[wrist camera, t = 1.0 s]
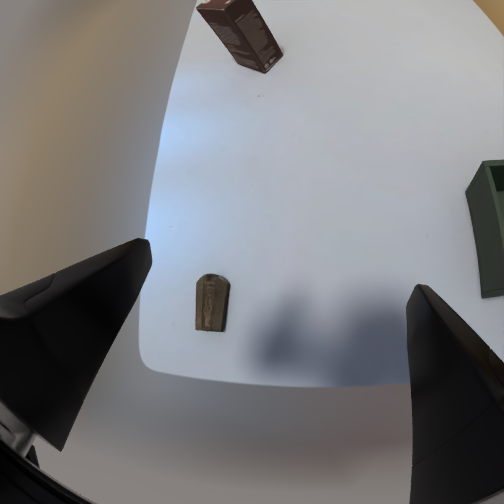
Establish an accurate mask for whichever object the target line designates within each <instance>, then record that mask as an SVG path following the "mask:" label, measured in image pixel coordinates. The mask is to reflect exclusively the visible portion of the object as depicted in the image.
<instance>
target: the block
mask: <svg viewBox="0 0 504 504" xmlns="http://www.w3.org/2000/svg"><path fill="white" fill-rule="evenodd" d="M229 287H230V284H229V282H228V281H227V280H226V279H225V278H223V277H221V276H218V275H215V274H206V275H203V276H202V277H201V278H200V279H199V280H198V281H197V283H196V319H195V330H202V331H215V332H223V329H224V322H225V316H226V309H227V302H228V296H229Z"/></svg>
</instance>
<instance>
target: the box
mask: <svg viewBox="0 0 504 504" xmlns="http://www.w3.org/2000/svg"><path fill="white" fill-rule="evenodd" d="M196 9H197V11H198V12H199V13H200V14H201V16H202V17H203V18H204V19H205V21H206V22H207V23H208V24H209V26H210V27H211V28H212V29H213V31H214V32H215V33H216V35H217V36H218V37H219V39H220V40H221V41H222V43H223V44H224V45H225V47H226V48H227V49H228V51H229V52H230V53H231V55H232V56H233V57H234V59H235V60H236V62H237V63H238V64H241V65H244V66H247V67H250V68H253V69H255V70H258V71H261V72H264V73H265V72H266V71H268V70H269V69H270V68H271V67H272V66H273V65H274V64H275V63H276V62H277V61H278V60H279V59H280V57H281V56H282V55H283V53H282V52H281V50H280V48H279V46H278V44H277V42H276V40H275V39H274V37H273V35H272V33H271V31H270V30H269V28H268V26H267V25H266V23H265V21H264V20H263V18H262V16H261V14H260V13H259V11H258V10H257V8H256V6H255V5H254V3H253V1H252V0H205V1H204V2H202V3H201V4H200V5H199V6H197V7H196Z"/></svg>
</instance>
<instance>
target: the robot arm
mask: <svg viewBox="0 0 504 504" xmlns="http://www.w3.org/2000/svg"><path fill="white" fill-rule="evenodd" d="M151 266H152V255H151V248H150V243H149V241H148V240H147V239H141V238H137V239H134V240H132V241H129V242H126V243H124V244H122V245H119V246H117V247H114V248H112V249H110V250H107V251H105V252H102V253H100V254H97V255H95V256H93V257H90V258H88V259H86V260H83V261H81V262H79V263H76V264H74V265H72V266H69V267H67V268H65V269H63V270H60V271H58V272H56V274H55V273H53V274H51V275H49V276H47V277H45V278H42V279H40V280H38V281H35V282H33V283H31V284H28V285H26V286H23V287H21V288H18V289H16V290H13V291H11V292H8V293H6V294H4V295H1V296H0V504H96V503H94V502H93V501H90V500H89V499H87V498H85V497H83V496H82V495H80V494H78V493H76V492H75V491H73V490H72V489H70V488H68V487H67V486H65V485H63V484H62V483H60V482H59V481H57V480H56V479H54V478H53V477H51V476H50V475H48V474H47V473H45V472H44V471H43V470H41V469H40V467H39V464H38V460H37V455H36V451H35V448H34V446H33V445H32V444H33V442H34V440H35V438H36V436H38V437H39V438H40V439H42V440H43V441H45V442H47V443H48V444H49V445H51V446H52V447H54V448H56V449H57V450H59V451H60V452H61V451H62V449H63V447H64V445H65V443H66V440H67V438H68V436H69V433H70V431H71V429H72V426H73V424H74V422H75V420H76V417H77V415H78V413H79V411H80V409H81V406H82V404H83V402H84V399H85V398H86V395H87V393H88V391H89V389H90V387H91V385H92V383H93V381H94V379H95V377H96V375H97V373H98V370H99V369H100V367H101V365H102V363H103V361H104V359H105V357H106V355H107V353H108V351H109V349H110V347H111V345H112V344H113V342H114V340H115V338H116V336H117V334H118V332H119V330H120V329H121V327H122V325H123V323H124V321H125V319H126V318H127V316H128V314H129V312H130V311H131V309H132V307H133V305H134V303H135V301H136V299H137V297H138V295H139V293H140V291H141V288H142V286H143V284H144V282H145V279H146V277H147V275H148V273H149V270H150V268H151ZM406 318H407V351H408V361H409V371H410V383H411V399H412V421H413V422H412V425H413V454H412V457H413V458H412V465H413V466H412V476H411V491H410V504H504V363H503V361H502V360H501V359H500V358H499V357H498V356H497V355H496V354H495V353H494V352H493V350H492V349H490V347H489V346H488V345H487V344H486V343H485V342H484V341H483V340H482V339H481V338H480V337H479V335H478V334H477V333H476V332H475V331H474V330H473V329H472V328H471V327H470V326H469V325H468V324H467V323H466V322H465V321H464V320H463V319H462V318H461V317H460V316H459V315H458V314H457V313H456V312H455V311H454V310H453V309H452V308H451V307H450V306H449V305H448V304H447V303H446V302H445V301H444V300H443V299H442V298H441V297H440V296H439V295H438V294H437V293H435V292H434V291H433V290H432V289H431V288H430V287H429V286H428V285H422V284H417V285H416V286H415V287H414V290H413V292H412V294H411V296H410V298H409V300H408V303H407V306H406Z"/></svg>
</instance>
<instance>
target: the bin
mask: <svg viewBox="0 0 504 504" xmlns="http://www.w3.org/2000/svg"><path fill="white" fill-rule="evenodd" d="M466 196H467V201H468V205H469V209H470V214H471V219H472V224H473V230H474V235H475V241H476V248H477V255H478V263H479V271H480V281H481V294H482V298H489V297H497V296H504V160H489V161H482V163H481V165H480V167H479V169H478V171H477V172H476V174H475V176H474V178H473V180H472V181H471V183H470V185H469V187H468V188H467V190H466Z"/></svg>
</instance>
